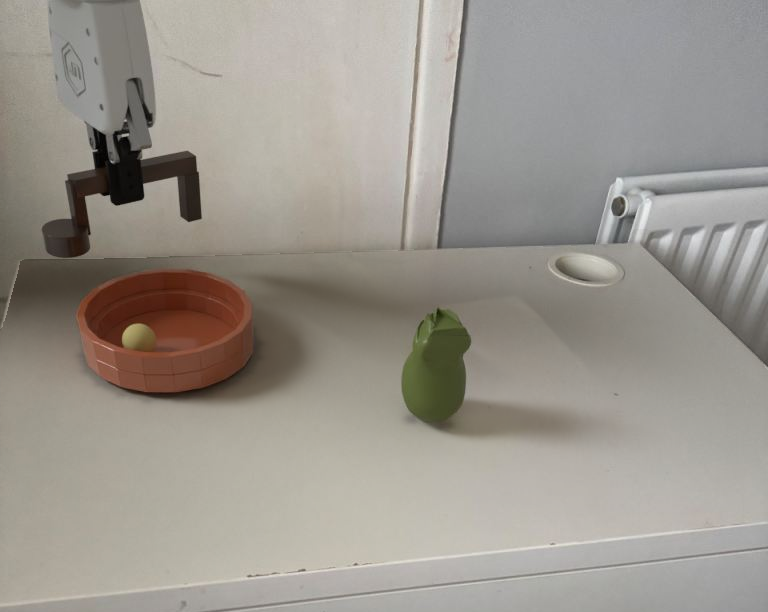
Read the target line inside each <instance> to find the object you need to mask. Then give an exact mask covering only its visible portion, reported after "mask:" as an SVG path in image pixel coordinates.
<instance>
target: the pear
mask: <svg viewBox="0 0 768 612" xmlns="http://www.w3.org/2000/svg"><path fill="white" fill-rule="evenodd" d="M471 346H472V337H471V335H470V334H469V332H468V330H467V327H465V326H464V325H463V323H462V321H461V320H460V318H459V316H458V314H457V313H455V312H454V311H452V310H450V309H448V308H444V309H441V308H440V307H439V306H437V307H436V309H435V310H434V312H432V313H429V312H427V313H426V314H424V318H423V320H422V321H420V323H418V326H417V328H416V330H415V332H414V335H413V339H412V348H411V349H412V350H411V351H410V352H409V354H408V356H407V357H406V359H405V361H404V363H403V365H402V370H401V377H400V378H401V379H400V383H401V384H400V385H401V394H402V398H403V402H404V404H405V407H406V408H407V410H408V412H410V413H411V414H412V415H413V416H414V417H415V418H417V419H419V420H421V421H424V422H429V423H440V422H443V421H446V420H448V419H450V418H452V417H453V416H454V415H456V414H457V412H458V411H459V410H460V409H461V407H462V405H463V403H464V400H465V396H466V388H467V370H466V364H465V360H464V355H465V354H466V353H467V351H468V350H470V348H471Z"/></svg>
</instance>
